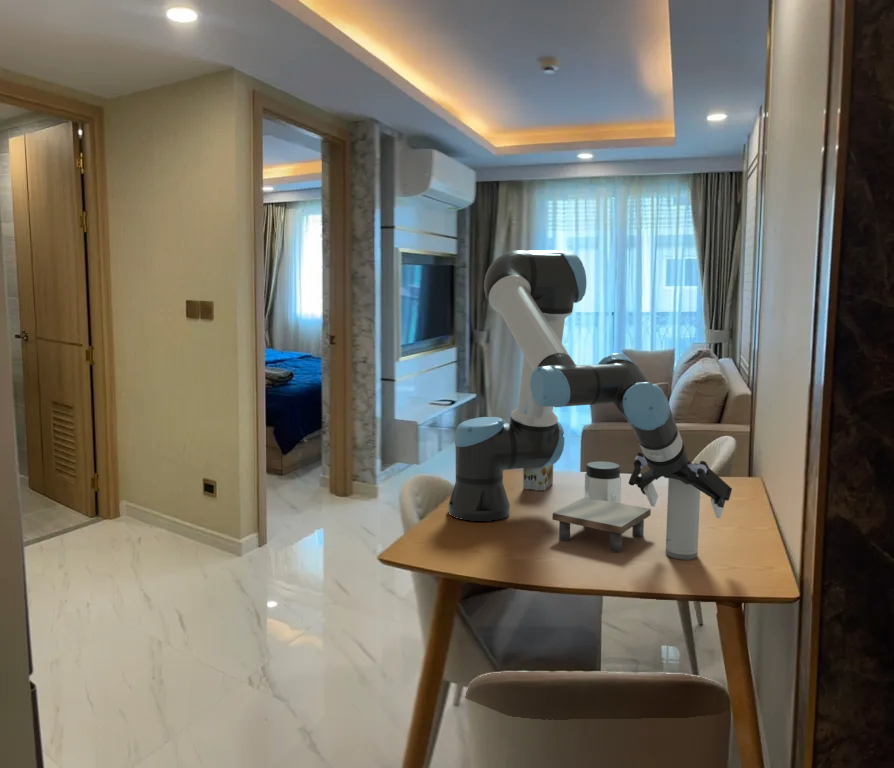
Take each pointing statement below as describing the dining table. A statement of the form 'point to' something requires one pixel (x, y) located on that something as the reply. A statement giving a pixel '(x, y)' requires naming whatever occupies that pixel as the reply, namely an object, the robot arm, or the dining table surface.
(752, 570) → the dining table surface
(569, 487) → the dining table surface
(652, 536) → the dining table surface
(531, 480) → the coffee box
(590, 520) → the peg shelf
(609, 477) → the jar
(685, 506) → the travel mug
